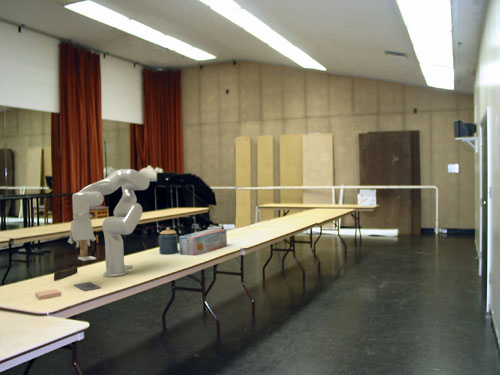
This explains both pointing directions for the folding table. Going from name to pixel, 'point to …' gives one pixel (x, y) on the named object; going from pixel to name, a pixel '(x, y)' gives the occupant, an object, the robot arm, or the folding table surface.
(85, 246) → the block on white plate
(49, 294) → the tile
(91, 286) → the mat
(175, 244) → the canister
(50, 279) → the folding table surface
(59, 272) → the dark brown bar
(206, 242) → the soda box
